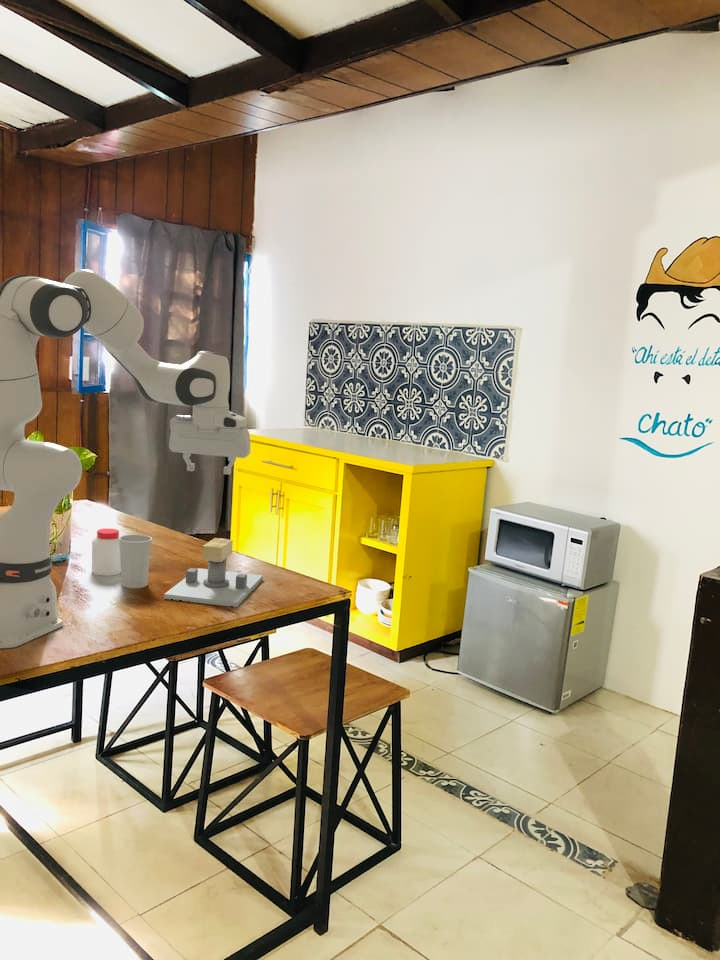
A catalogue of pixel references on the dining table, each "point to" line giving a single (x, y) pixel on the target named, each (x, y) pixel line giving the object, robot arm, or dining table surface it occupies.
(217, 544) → the tan parcel with label
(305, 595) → the dining table surface
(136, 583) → the cup
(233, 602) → the base
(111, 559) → the pill bottle
